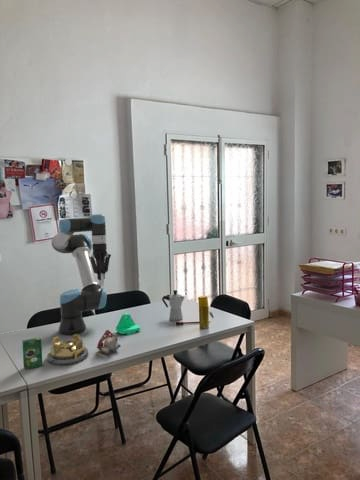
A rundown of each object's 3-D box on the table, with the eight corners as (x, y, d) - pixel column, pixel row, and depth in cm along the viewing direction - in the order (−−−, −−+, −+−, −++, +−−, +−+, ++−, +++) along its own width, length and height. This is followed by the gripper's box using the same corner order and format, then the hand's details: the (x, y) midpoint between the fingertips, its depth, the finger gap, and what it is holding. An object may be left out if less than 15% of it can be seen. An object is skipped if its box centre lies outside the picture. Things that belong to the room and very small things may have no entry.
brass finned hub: (70, 361, 178) (69, 347, 177) (43, 356, 184) (42, 343, 183) (91, 348, 192) (90, 336, 191) (65, 344, 199) (65, 332, 198)
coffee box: (42, 363, 182) (40, 336, 180) (43, 365, 179) (41, 338, 178) (23, 367, 178) (21, 340, 176) (24, 370, 175) (22, 342, 174)
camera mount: (121, 336, 215) (120, 318, 214) (116, 332, 222) (115, 314, 221) (140, 331, 222) (140, 314, 221) (135, 328, 228) (134, 311, 227)
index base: (38, 360, 185) (38, 350, 185) (69, 346, 201) (68, 337, 201) (66, 368, 175) (66, 358, 175) (96, 353, 191) (95, 344, 191)
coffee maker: (186, 316, 247) (186, 288, 245) (185, 320, 238) (184, 292, 236) (163, 316, 249) (162, 288, 247) (161, 320, 240) (160, 292, 238)
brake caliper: (110, 340, 203) (117, 325, 196) (120, 357, 197) (127, 342, 191) (90, 346, 195) (97, 331, 189) (100, 364, 190) (108, 349, 183)
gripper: (92, 244, 204) (95, 288, 207) (113, 242, 213) (115, 284, 216) (85, 243, 210) (87, 286, 212) (105, 241, 219) (107, 282, 221)
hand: (101, 285), depth 214 cm, fingers closed
